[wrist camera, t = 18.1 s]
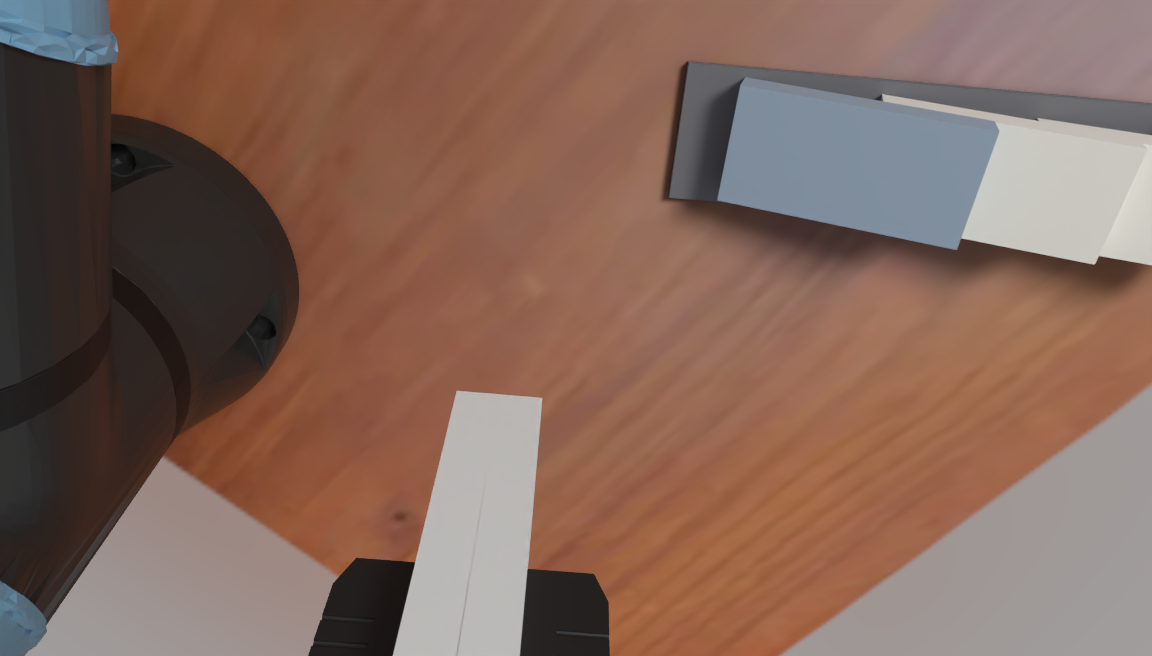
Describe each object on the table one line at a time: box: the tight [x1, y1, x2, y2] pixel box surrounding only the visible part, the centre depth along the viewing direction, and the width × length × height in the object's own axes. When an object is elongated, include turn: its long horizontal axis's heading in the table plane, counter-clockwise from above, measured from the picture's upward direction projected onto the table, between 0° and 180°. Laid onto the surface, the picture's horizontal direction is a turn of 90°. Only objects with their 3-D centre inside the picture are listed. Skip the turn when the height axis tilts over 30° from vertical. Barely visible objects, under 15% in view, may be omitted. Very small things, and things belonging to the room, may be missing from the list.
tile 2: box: [880, 94, 1148, 265], centre depth 36 cm, size 2×5×10 cm
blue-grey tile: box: [717, 77, 1000, 250], centre depth 36 cm, size 2×5×10 cm
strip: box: [669, 61, 1152, 203], centre depth 38 cm, size 26×6×1 cm, turn 85°
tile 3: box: [1036, 118, 1152, 265], centre depth 36 cm, size 2×5×10 cm
